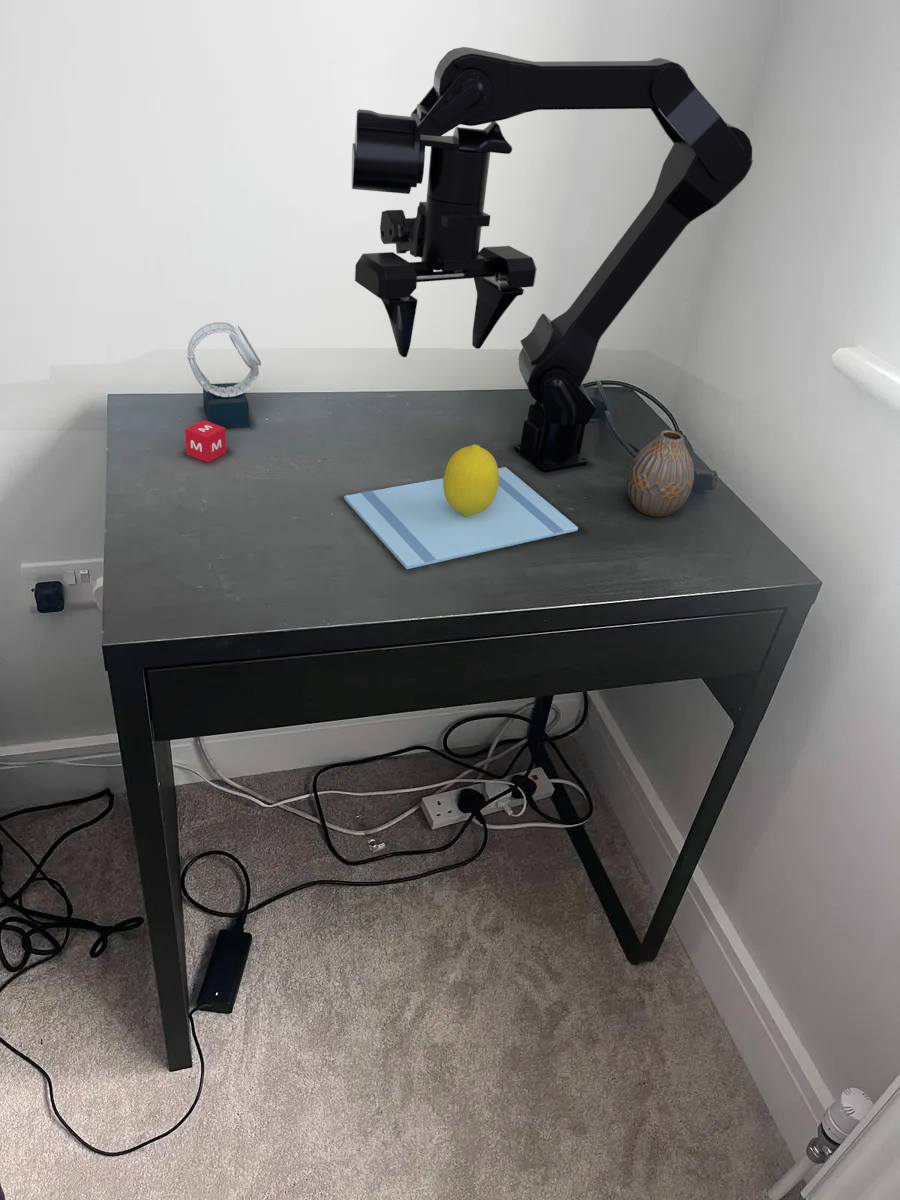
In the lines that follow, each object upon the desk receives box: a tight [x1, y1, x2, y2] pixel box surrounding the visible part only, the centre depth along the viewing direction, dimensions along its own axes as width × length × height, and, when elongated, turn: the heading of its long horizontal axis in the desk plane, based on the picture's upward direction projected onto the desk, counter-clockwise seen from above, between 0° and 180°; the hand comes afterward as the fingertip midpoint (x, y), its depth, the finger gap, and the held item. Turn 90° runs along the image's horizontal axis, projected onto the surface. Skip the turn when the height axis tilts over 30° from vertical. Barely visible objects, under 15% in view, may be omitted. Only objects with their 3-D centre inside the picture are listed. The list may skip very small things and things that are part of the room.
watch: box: [187, 321, 262, 429], centre depth 104 cm, size 6×8×11 cm
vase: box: [626, 429, 695, 518], centre depth 98 cm, size 7×7×9 cm
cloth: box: [343, 466, 579, 570], centre depth 95 cm, size 20×14×1 cm
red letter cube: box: [184, 419, 227, 463], centre depth 99 cm, size 3×3×3 cm
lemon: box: [443, 443, 499, 517], centre depth 92 cm, size 6×6×8 cm
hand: (440, 351), depth 99 cm, fingers open, 9 cm apart
